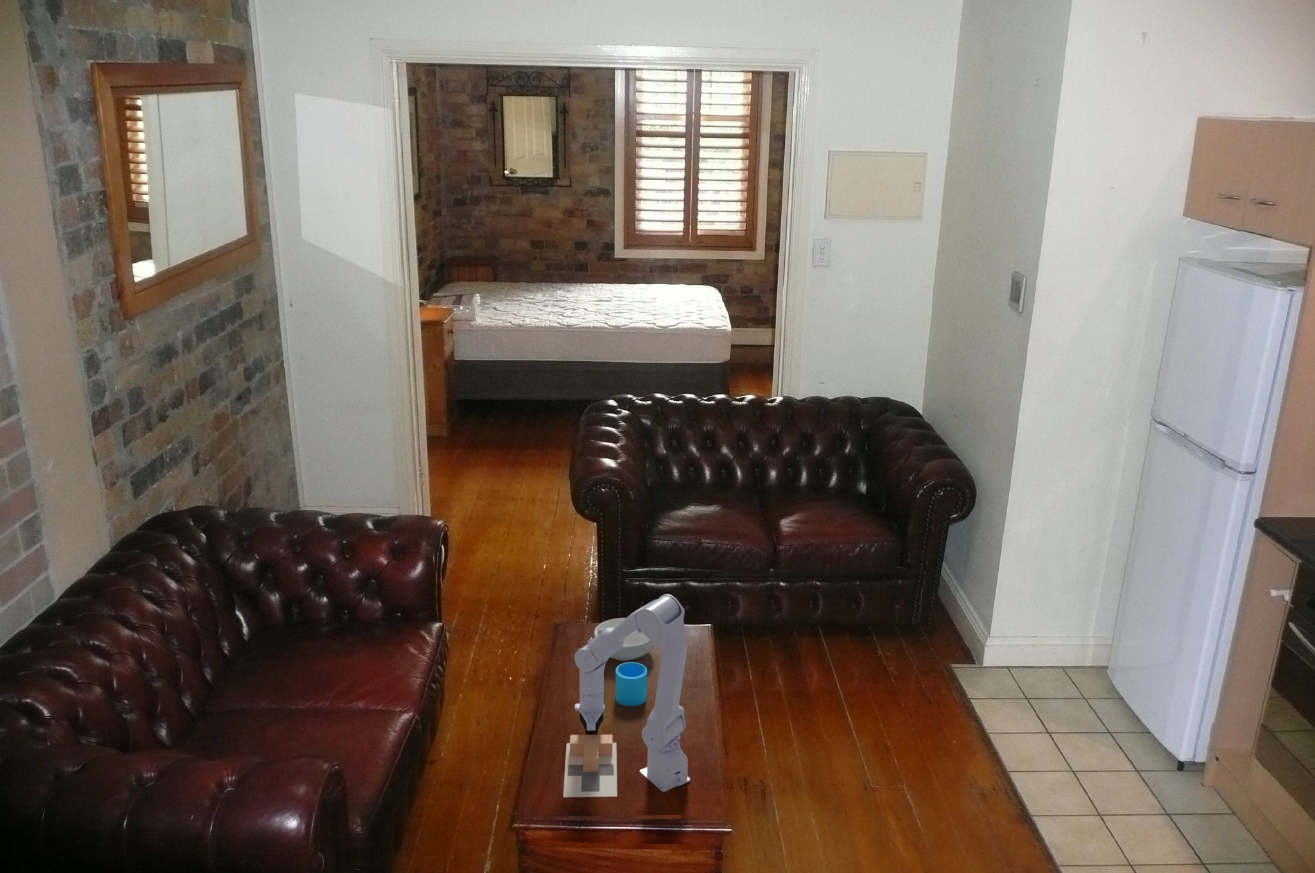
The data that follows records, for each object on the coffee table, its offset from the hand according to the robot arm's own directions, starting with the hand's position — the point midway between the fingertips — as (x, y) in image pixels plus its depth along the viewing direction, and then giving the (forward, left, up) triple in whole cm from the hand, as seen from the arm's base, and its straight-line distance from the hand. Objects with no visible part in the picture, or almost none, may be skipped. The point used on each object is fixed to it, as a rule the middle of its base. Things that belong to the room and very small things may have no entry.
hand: (591, 738), depth 248 cm
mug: (+12, -21, -2) cm, 24 cm away
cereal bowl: (+30, -31, -2) cm, 43 cm away
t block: (-6, +4, -1) cm, 7 cm away
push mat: (-9, +6, -1) cm, 11 cm away
